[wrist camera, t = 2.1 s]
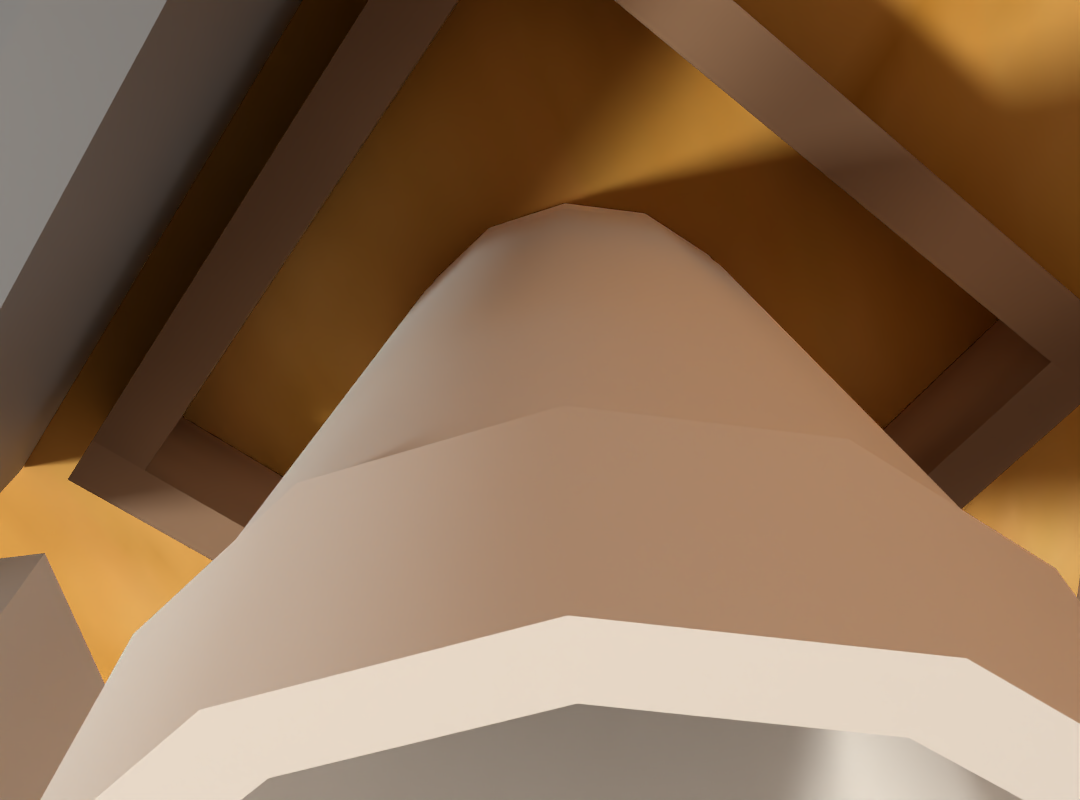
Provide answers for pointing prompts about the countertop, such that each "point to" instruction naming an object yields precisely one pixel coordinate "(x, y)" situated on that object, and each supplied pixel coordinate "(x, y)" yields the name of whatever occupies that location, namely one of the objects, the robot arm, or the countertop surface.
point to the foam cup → (597, 574)
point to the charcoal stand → (101, 167)
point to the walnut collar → (751, 80)
